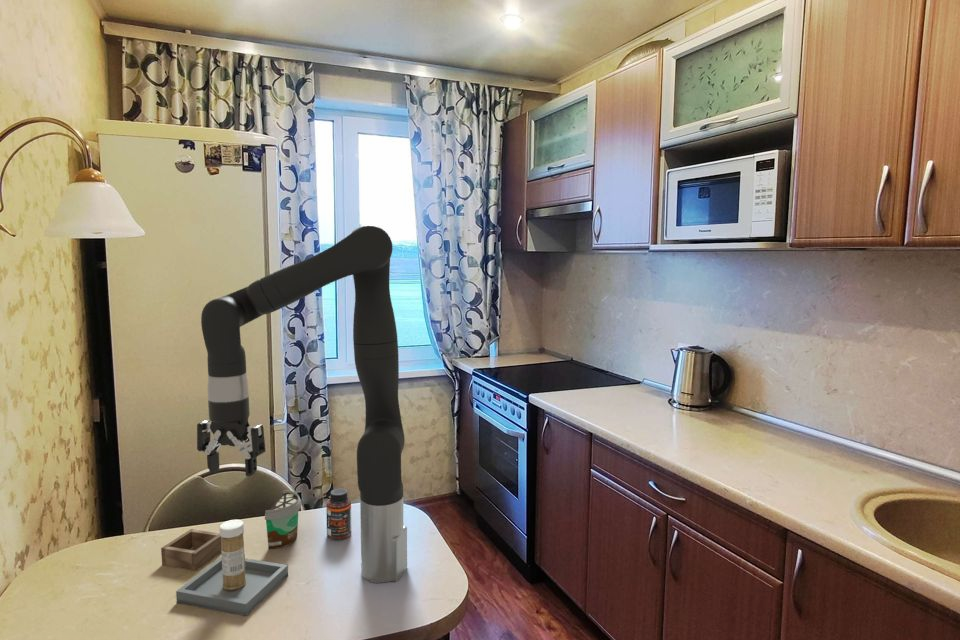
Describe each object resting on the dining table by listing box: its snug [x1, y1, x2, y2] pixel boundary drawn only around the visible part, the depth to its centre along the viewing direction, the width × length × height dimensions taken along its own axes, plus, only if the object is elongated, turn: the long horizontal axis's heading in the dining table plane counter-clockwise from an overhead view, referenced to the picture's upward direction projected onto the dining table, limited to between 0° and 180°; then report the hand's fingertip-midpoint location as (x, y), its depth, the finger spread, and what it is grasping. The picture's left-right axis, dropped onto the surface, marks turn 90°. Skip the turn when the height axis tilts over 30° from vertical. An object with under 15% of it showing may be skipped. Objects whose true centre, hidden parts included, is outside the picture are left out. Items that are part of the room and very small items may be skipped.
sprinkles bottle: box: [219, 519, 246, 591], centre depth 116 cm, size 5×5×14 cm
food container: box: [264, 489, 302, 550], centre depth 136 cm, size 12×6×10 cm, turn 179°
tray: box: [175, 556, 289, 617], centre depth 116 cm, size 16×14×2 cm
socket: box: [160, 528, 221, 572], centre depth 128 cm, size 9×9×4 cm
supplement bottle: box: [326, 488, 352, 541], centre depth 138 cm, size 6×6×11 cm
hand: (232, 472), depth 115 cm, fingers open, 8 cm apart
